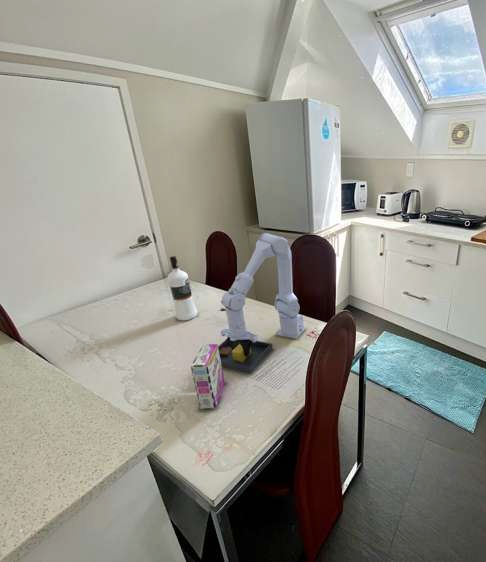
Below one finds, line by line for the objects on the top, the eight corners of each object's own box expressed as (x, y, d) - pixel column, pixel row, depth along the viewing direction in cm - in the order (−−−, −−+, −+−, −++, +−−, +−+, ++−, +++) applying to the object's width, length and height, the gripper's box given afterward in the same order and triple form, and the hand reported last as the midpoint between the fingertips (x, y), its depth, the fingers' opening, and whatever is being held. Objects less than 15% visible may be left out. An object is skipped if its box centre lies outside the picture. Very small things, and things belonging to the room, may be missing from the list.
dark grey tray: (272, 350, 123) (272, 343, 121) (250, 374, 109) (249, 368, 108) (231, 341, 128) (230, 335, 127) (206, 364, 115) (204, 357, 114)
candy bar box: (217, 409, 95) (207, 365, 89) (200, 410, 95) (189, 366, 88) (226, 383, 106) (218, 343, 99) (211, 384, 105) (202, 344, 99)
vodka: (184, 310, 153) (170, 252, 141) (201, 312, 151) (188, 253, 139) (172, 320, 145) (155, 259, 132) (190, 322, 143) (175, 260, 131)
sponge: (251, 352, 120) (250, 344, 119) (242, 362, 115) (240, 353, 113) (242, 350, 121) (241, 342, 120) (233, 360, 116) (231, 351, 115)
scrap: (232, 350, 122) (232, 347, 121) (227, 356, 118) (227, 354, 118) (222, 349, 122) (222, 347, 122) (217, 356, 119) (217, 353, 118)
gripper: (212, 325, 111) (219, 356, 116) (247, 332, 107) (252, 364, 112) (225, 316, 117) (230, 346, 123) (258, 321, 113) (263, 352, 118)
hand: (242, 353), depth 118 cm, fingers closed on sponge, 4 cm apart
